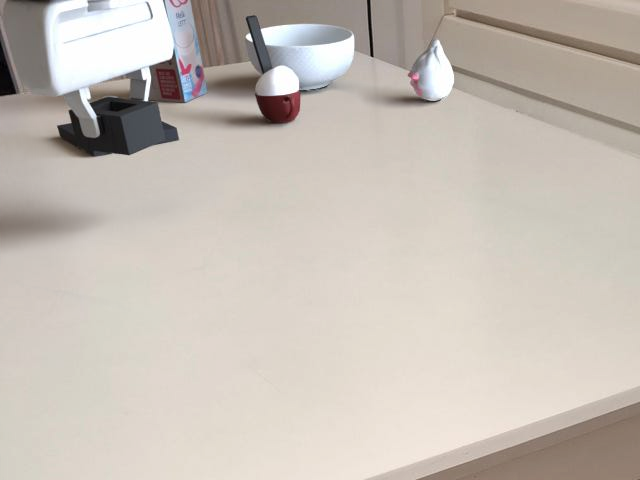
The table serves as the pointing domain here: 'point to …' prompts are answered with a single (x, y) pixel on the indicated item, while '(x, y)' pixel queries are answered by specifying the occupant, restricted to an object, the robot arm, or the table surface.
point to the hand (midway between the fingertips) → (118, 126)
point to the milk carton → (179, 59)
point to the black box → (122, 126)
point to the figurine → (432, 73)
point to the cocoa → (274, 82)
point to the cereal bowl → (307, 51)
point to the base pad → (68, 135)
